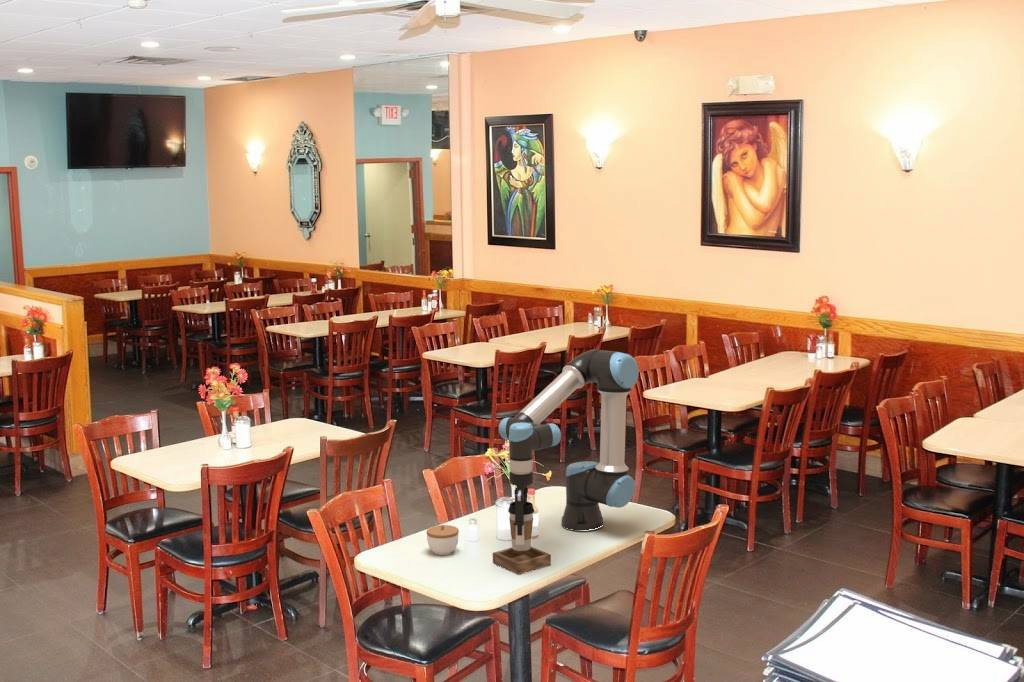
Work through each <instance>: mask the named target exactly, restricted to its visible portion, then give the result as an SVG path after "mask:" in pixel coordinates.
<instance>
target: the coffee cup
mask: <svg viewBox="0 0 1024 682" xmlns="http://www.w3.org/2000/svg"><path fill="white" fill-rule="evenodd" d="M523 508H524V545H516V525H513V523H515V501H512V502H511V503H509V508H508V509H507V512H508V514H509V526H510V536H511V548H513V549H514V550H517V551H526V550H529V549H530V548H531V547H532V546H531V545H532V535H533V534H532V533H533V526H534V525H533V523H534V512H535V508H534V505H533V503H532V502H529V501H527V502H526V504H524V507H523Z"/></svg>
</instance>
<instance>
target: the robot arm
mask: <svg viewBox="0 0 1024 682" xmlns="http://www.w3.org/2000/svg"><path fill="white" fill-rule="evenodd" d="M639 372H640V371H639V366H638V363H637V361H636V359H635V358H634V357H633V356H632V355H630V354H628V353H624V352H622V351H621V352H619V351H613V350H612V351H611V350H605V349H604V350H602V349H597V348H595V349H590V350H587V351H585V352H582V353H581V354H579V355H577V356H575V357H574V358H572V359H571V360H570V361H569V362H568V363H567V364H565V365H564V367H562V372H561V373H560V374H559V375H558V376H556V378H554V379H553V380H552V382H550V383H549V384H548V385H547V386H546V387H545V388H543V390H542V391H541V392H540V393H538V394H537V395H536V397H534V398H533V399H532V400H531V401H530V402H529V403H528V404H527V405H525V407H523V408H522V409H521V410H520V411H519V412H518V413H517V414H516V415H515V416H514V417H505V418H502V419H501V421H499V422H500V423H499V424H498V433H499V436H500V437H501V438H502V439H503V440H507V441H508V447H509V448H508V450H509V453H508V455H509V456H508V458H509V460H507V464H508V465H509V471H510V472H509V473H508V474H509V475H508V476H509V478H508V479H509V484H510V485H512V486H515V490H514V492H513V493H514V502H515V523H513V525H516V545H524V508H523V507H524V504H526V502H528V492H529V491H528V490H529V488H528V486H530V485H532V484H533V483H534V479H533V478H534V474H533V473H534V472H533V471H534V457H533V456H534V451H539V450H544V449H549V448H552V447H554V446H558V445H559V444H560V442H561V439H562V433H561V430H560V428H559V426H558V424H557V425H556V424H555V423H545V424H541V423H542V422H543V421H544V420H546V418H547V417H548V416H549V415H551V414H552V412H553V411H555V410H556V409H558V407H559V406H560V405H561V404H562V403H563V402H565V400H566V399H567V398H569V396H571V394H572V393H574V391H576V390H577V389H582V388H583V387H585V386H586V385H587V384H590V383H597V385H596V387H597V389H596V390H597V393H599V394H600V395H601V405H600V406H601V408H600V439H599V441H600V443H599V445H600V446H599V447H600V448H599V462H598V461H597V462H596V461H587V460H585V461H578V462H572V463H570V464H569V465H567V467H566V471H565V474H566V475H565V495H566V502H565V507H564V510H563V515H562V517H561V527H562V526H563V528H564V527H565V528H568V529H573V530H589V529H595V528H598V527H600V526H602V525H603V526H604V517H603V515H602V511H601V507H600V505H599V504H602V505H605V506H608V507H611V508H612V507H613V508H623V507H625V506H626V505H628V504H629V503H630V501H631V500H632V499H633V497H634V494H635V490H636V482H635V480H634V478H633V477H632V476H631V475H629V471H630V469H629V467H628V465H626V463H625V459H626V457H625V453H626V425H627V424H626V421H627V419H626V418H627V417H626V416H627V397H628V395H629V394H630V393H631V392H632V388H633V387H634V386H635V385H636V384H637V381H638V379H639ZM565 528H564V529H565ZM568 529H567V530H568Z"/></svg>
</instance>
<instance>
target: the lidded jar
mask: <svg viewBox="0 0 1024 682" xmlns="http://www.w3.org/2000/svg"><path fill="white" fill-rule="evenodd" d="M459 532H460V530H459V528H458V527H456V526H454V525H449V524H447V525H446V524H439V525H434V526H431V527H428V528H427V530H426V540H427V545H428V547H429V549H430V550H431V551H432V552H433V553H434V555H437V554H439V555H438V556H447V555H446V554H448V555H450V553H451V552H452V553H453V551H454V550H455V549H457V545H458V542H459ZM452 553H451V554H452Z"/></svg>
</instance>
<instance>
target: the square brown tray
mask: <svg viewBox="0 0 1024 682" xmlns="http://www.w3.org/2000/svg"><path fill="white" fill-rule="evenodd" d="M493 563H494V564H493ZM492 564H493V565H495V564H496V566H497V567H500V566H501V568H502V569H504V568H505V569H504V570H507V571H509V572H511V571H512V573H513V572H514V573H513V574H515V573H516V575H517V576H520V575H523V574H526V573H525V572H527V573H529V571H530V572H533V571H536V569H537V570H539V569H542V568H547V567H549V566H551V565H552V554H550V553H548V552H545V551H543V550H540V549H538V548H535V547H533V546H531V548H530V549H529V550H526V551H517V550H514V549H513V548H512V547H509V548H504V549H502V550H498V551H495V552H494V551H493V552H492ZM546 566H547V567H546ZM532 570H533V571H532ZM522 573H523V574H522ZM519 574H520V575H519Z"/></svg>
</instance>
